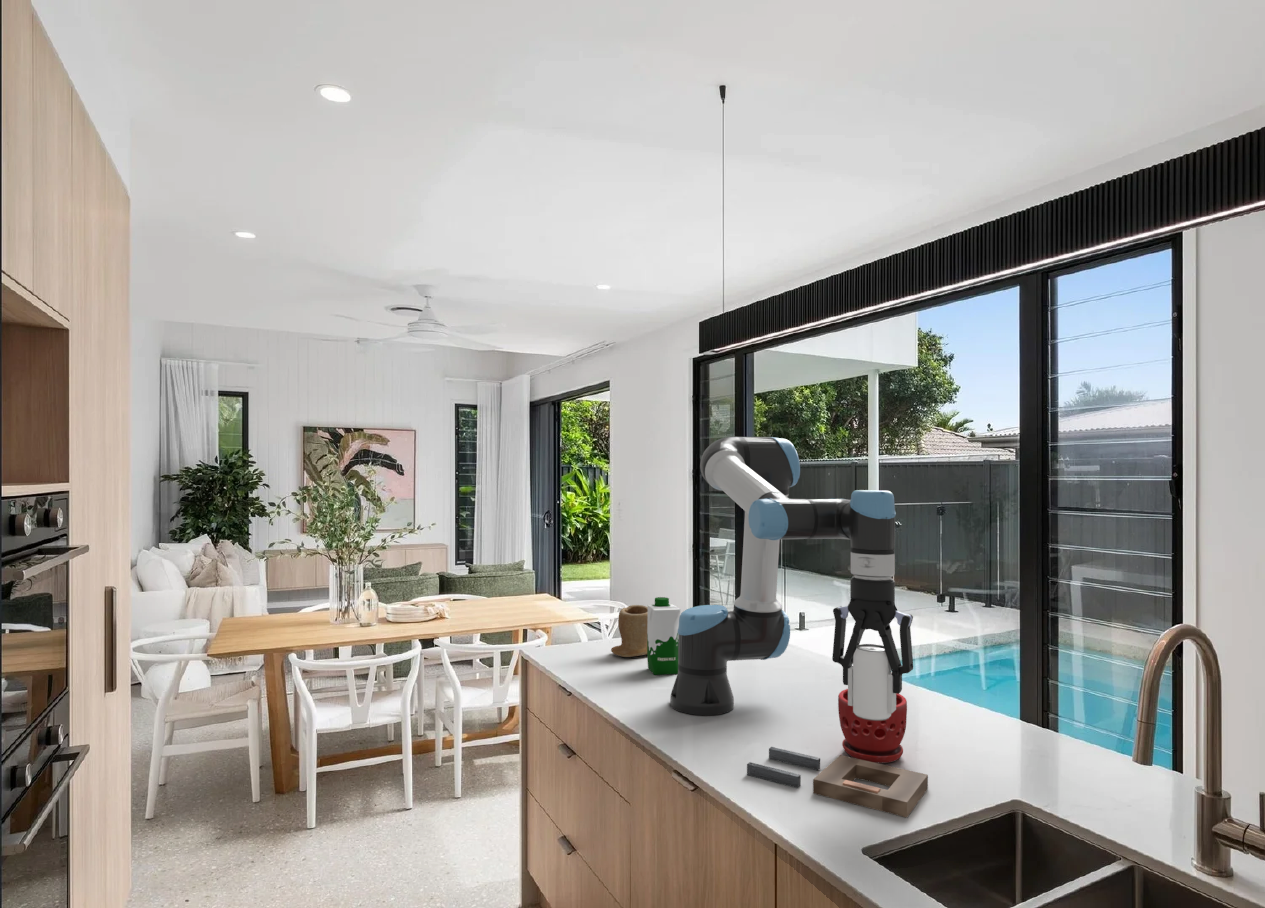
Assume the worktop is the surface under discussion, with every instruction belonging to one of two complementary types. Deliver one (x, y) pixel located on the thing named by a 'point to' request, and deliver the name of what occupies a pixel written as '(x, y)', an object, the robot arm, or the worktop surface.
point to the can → (870, 682)
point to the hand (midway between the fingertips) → (871, 707)
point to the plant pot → (872, 732)
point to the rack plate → (894, 800)
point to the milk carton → (662, 637)
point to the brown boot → (632, 631)
